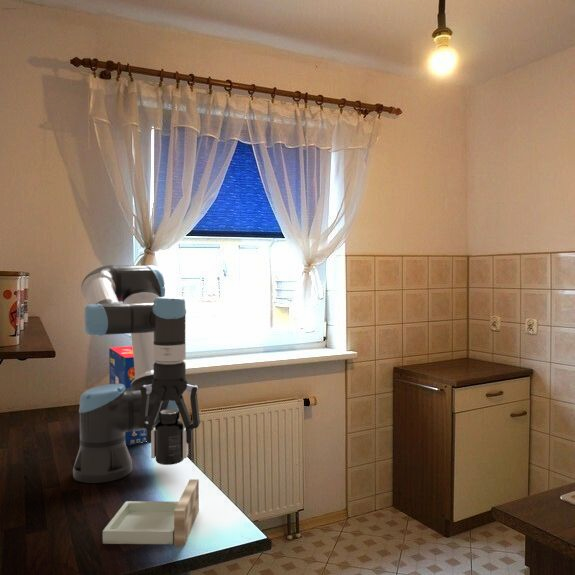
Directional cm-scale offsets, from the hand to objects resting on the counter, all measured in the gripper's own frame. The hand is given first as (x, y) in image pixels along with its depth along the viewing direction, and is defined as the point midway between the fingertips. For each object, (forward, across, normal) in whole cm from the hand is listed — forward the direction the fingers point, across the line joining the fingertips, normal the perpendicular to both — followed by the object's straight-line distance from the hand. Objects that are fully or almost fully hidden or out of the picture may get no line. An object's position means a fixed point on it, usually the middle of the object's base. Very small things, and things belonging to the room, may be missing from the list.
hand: (169, 455), depth 126 cm
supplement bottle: (+1, 0, 0) cm, 1 cm away
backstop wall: (+9, +7, -16) cm, 20 cm away
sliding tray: (+10, -1, -16) cm, 18 cm away
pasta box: (+11, -26, +53) cm, 60 cm away
